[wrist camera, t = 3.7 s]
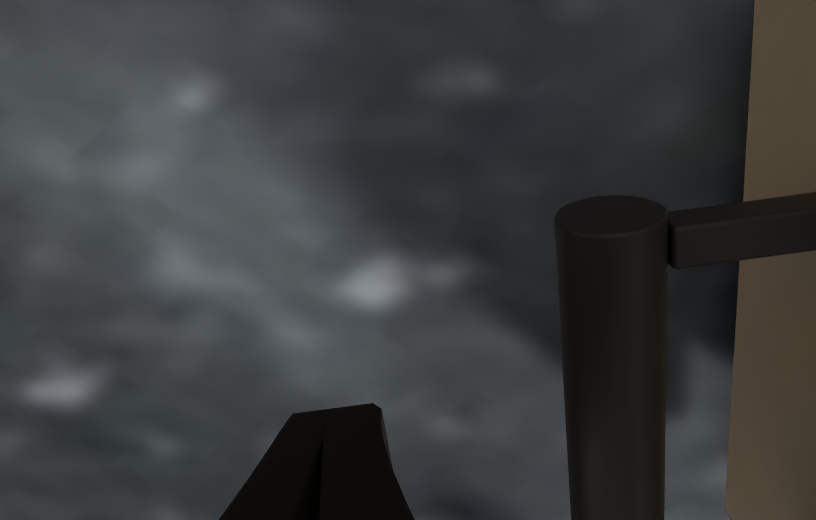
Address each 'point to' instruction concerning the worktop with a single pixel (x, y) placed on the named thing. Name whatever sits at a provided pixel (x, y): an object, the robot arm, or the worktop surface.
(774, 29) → the drawer
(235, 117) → the worktop surface
